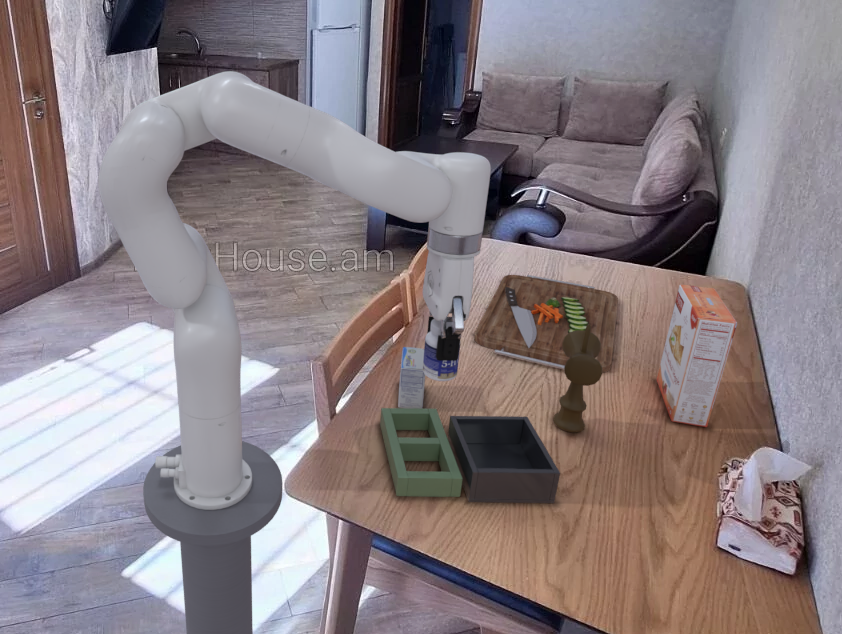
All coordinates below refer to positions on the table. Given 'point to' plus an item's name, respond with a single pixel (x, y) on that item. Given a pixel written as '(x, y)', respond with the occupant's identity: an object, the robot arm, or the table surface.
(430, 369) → the pill bottle
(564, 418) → the kendama
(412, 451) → the rack
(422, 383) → the medicine box
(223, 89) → the robot arm
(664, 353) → the cracker box
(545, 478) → the dark grey open bin
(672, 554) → the table surface
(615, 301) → the chopping board
